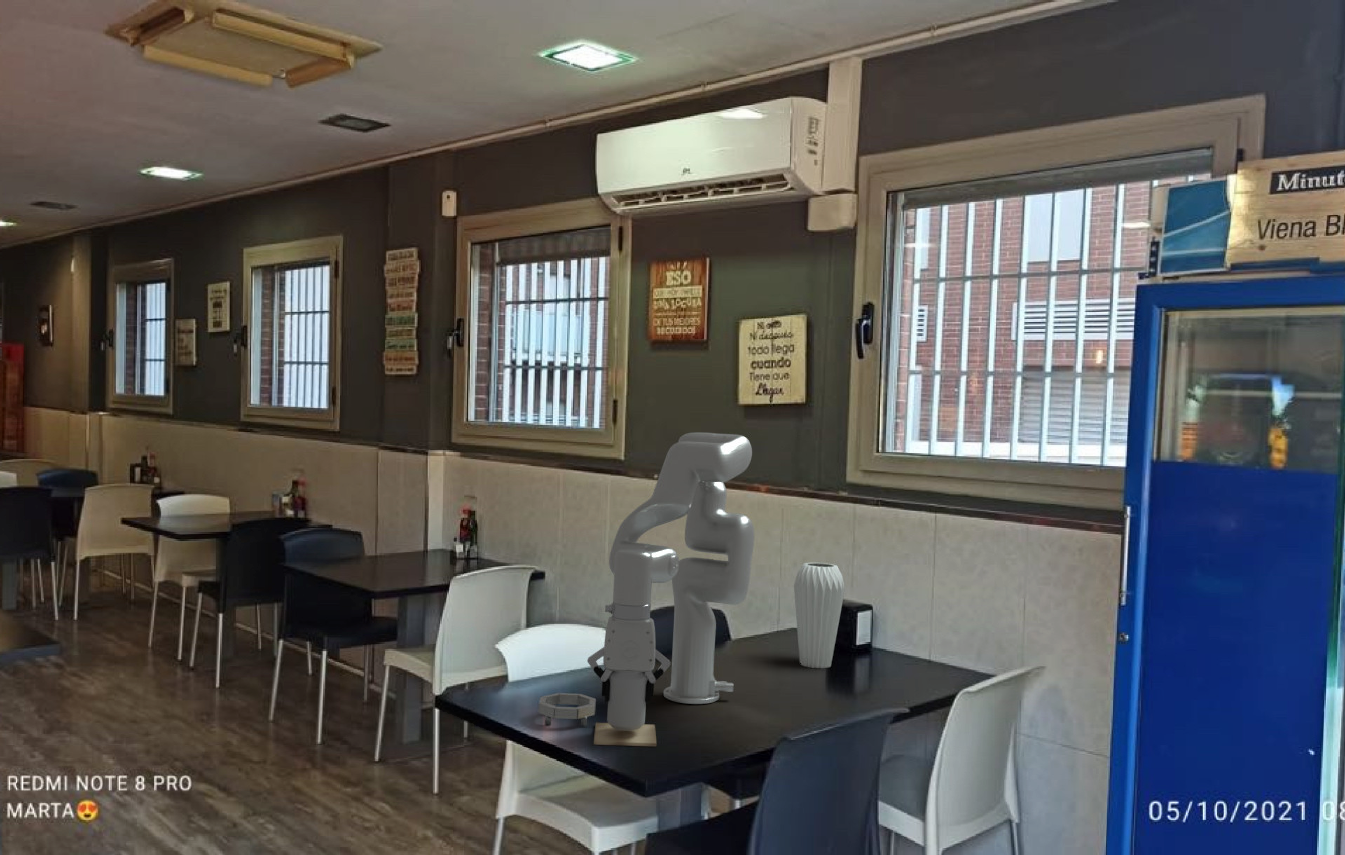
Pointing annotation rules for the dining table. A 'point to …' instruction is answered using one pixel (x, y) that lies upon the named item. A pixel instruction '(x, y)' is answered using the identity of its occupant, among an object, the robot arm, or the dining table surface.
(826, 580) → the vase
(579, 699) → the ring stand
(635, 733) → the cork pad
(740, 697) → the dining table surface
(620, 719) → the can
